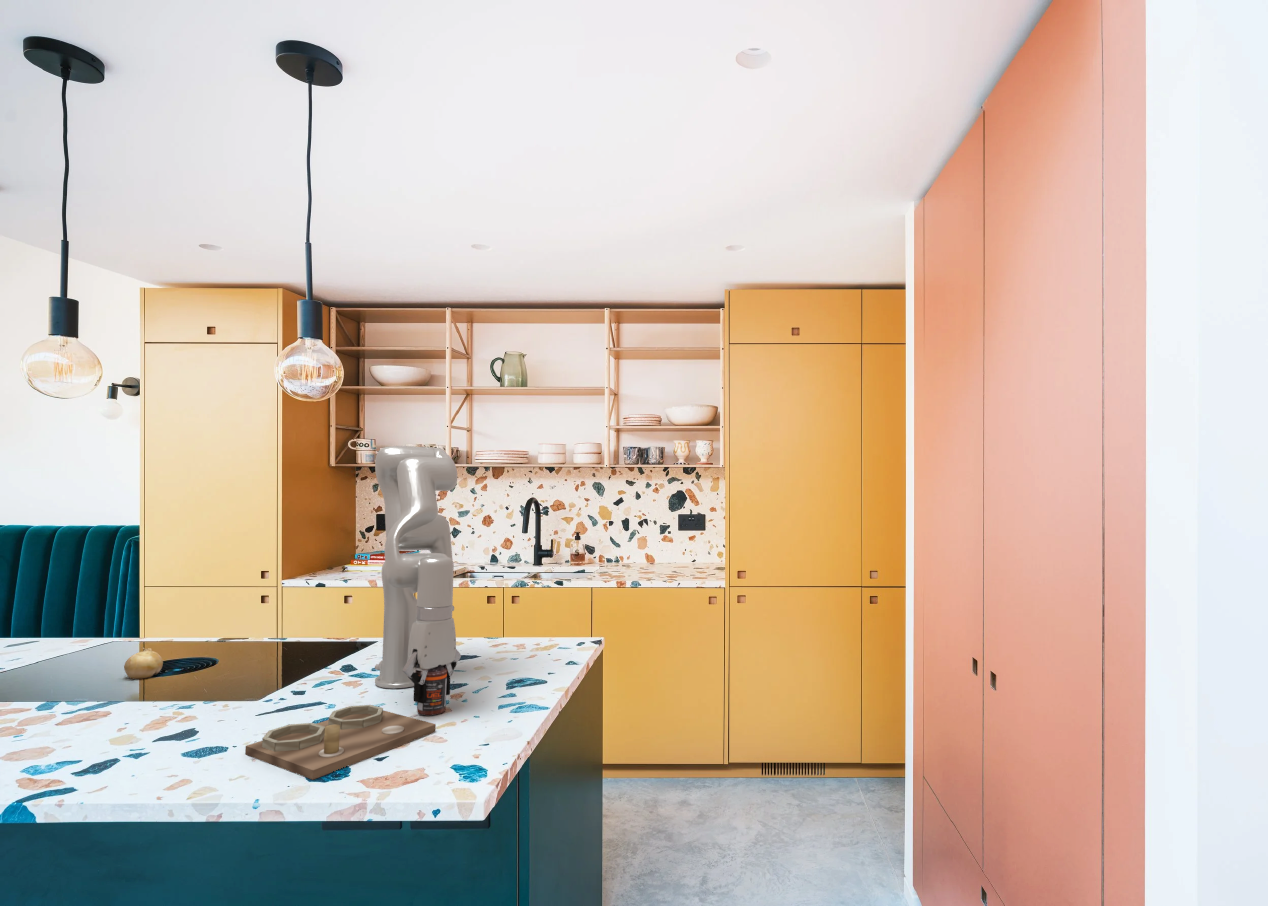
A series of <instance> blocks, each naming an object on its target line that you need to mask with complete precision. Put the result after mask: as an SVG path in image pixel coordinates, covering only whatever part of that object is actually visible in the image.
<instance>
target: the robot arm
mask: <svg viewBox="0 0 1268 906" xmlns="http://www.w3.org/2000/svg"><path fill="white" fill-rule="evenodd" d="M374 461H375V462H374V464H375V465H374V467H375V468H374V470H375V477H376V480H377V483H378V487H379V489H380V491H381V494H382V497H383V501H384V520H385V521H384V524H385V542H384V562H383V564H382V567H381V581H382V590H383V630H382V631H383V637H382V658H381V659H382V660H380V662H379V663H376V664H375V665H374V669H375V670H377V671H379V675H378V676H376V678H375V679H374V684H375V686H376V687H379V688H383V689H404V688H412V687H413V701H414V702H415V703H417V702H418V703H422V704H423V703H425V702H426V692H427V685H426V684H425V683H424V682H425V679H426V675H427V672H428V670H429V669H433V668H435V667H438V665H441V666H443V667H444V668H445V669H446V670H447V684H446V696H449V695H450V694H451V677H452V676H453V675H454V669H455V668H456V666H457V664H458V662H459V661H460V659H461V657H462V654H461V653H460V652H459V650H458V649H457V637H456V635H457V634H456V626H455V625H456V624H455V619H454V618H453V612H454V611H455V606H454V605H453V602H454V598H453V597H454V570H455V569H454V561H453V560H454V559H453V550H452V549H453V548H452V536H451V527H450V525H449V524H450V523H449V520H447V518H446V516H444V515H442V514H439V508H438V500H437V494H436V492H437V491H440V492H447V491H448V492H449V491H452V490H454V489H455V488H456V486H457V484H458V477H459V476H458V469H457V466H456V463H455V461H454V460H453V458H452V457H451V456H450V455H449V454H448V453H447V452H446V451H445V450H443V449H442V448H439V447H431V446H430V447H429V446H427V447H426V446H411V445H410V446H409V445H389V446H386V447H385V446H384V447H382V448H381V449H380V450H378V451H377V453H376V455H375V459H374ZM400 551H402V552H403V551H404V552H409V551H412V552H413V551H429V553H424V552H422V553H400ZM415 593H416V597H415ZM420 671H422V672H421V675H420V676H419V673H420Z"/></svg>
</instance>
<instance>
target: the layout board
mask: <svg viewBox="0 0 1268 906" xmlns="http://www.w3.org/2000/svg"><path fill="white" fill-rule="evenodd" d="M436 729H437V728H436V723H432V722H429V721H425V720H422V719H418V718H415V717H410V716H405V715H402V714H399V713H395V712H391V711H387V710H384V707H381V706H376V705H373V704H364V705H363V704H362V705H350V706H345V707H343V708H339V709H336V710H333V711H332V712H331V713H330V715H329V716H328V719H327V720H324V721H321V722H317V723H314V722H306V723H292V724H286V725H284V726H280V727H276V728H272V729H271V730H268V731H267V732H266V733H265V735H264V736H263V737H262V740H260V741H256V742H254V743H250V744H246V745H245V752H244V754H245V756H249V757H251V758H253V759H256V760H259V761H262V762H264V763H267V764H270V765H271V766H272V765H273V766H275V767H278V768H280V769H283V770H285V769H286V771H288V770H289V771H288V772H291V773H293V772H294V773H293V774H296V773H297V775H299V774H300V775H299V776H302V777H305V778H307V779H310V780H316V779H318V778H321V777H323V776H327V775H329V774H332V773H333V771H334V772H336V770H337V771H339V770H341V768H342V769H344V768H346V766H347V767H349V766H352V765H354V764H357V763H359V762H362V761H365V760H367V759H369V758H372V757H375V756H377V755H380V754H383V753H385V752H388V751H390V750H393V749H395V748H397V747H400V746H403V745H406V744H408V743H410V742H413V741H416V740H419V739H421V738H423V737H426V736H428V735H430V734H431V735H432V734H433V733H436ZM351 764H352V765H351ZM348 765H349V766H348ZM343 767H344V768H343ZM338 769H339V770H338Z"/></svg>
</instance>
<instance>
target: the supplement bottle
mask: <svg viewBox="0 0 1268 906" xmlns="http://www.w3.org/2000/svg"><path fill="white" fill-rule="evenodd" d="M421 672H422V671H420V673H419V676H420V675H421ZM424 683H425V684H426V685H427V692H426V702H425V703H423V704H422V703H418V702H416V703H417V705H416V708H417V709H416V712H417V713H418V714H419V715H421V716H428V717H429V716H435V715H440V714H442V713H444V712H445V711H446V706H447V695H446V684H447V670H446V669H445V668H444V667H443V666H441V665H438V667H435V668H433V669H429V670H428V672H427V675H426V679H425V682H424Z"/></svg>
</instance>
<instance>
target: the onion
mask: <svg viewBox="0 0 1268 906" xmlns="http://www.w3.org/2000/svg"><path fill="white" fill-rule="evenodd" d="M142 650H143V651H139V652H136V653H134V654H133V655H130V657H129V658H128V659H126V661H125V662H124V665H123V667H124V673H125V674H126V675H127V677H128V678H129V680H141V679H150V678H151V677H153V676H154V675H155V676H156V675H157V674H159V673H160V671H161V670H162V668H163V664H164V660H163V658H162V656H161V655H160V654H159V653H158V652H156V651H153V650H152V648H151V647H150V648H149V647H148V648H145V647H142Z"/></svg>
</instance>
